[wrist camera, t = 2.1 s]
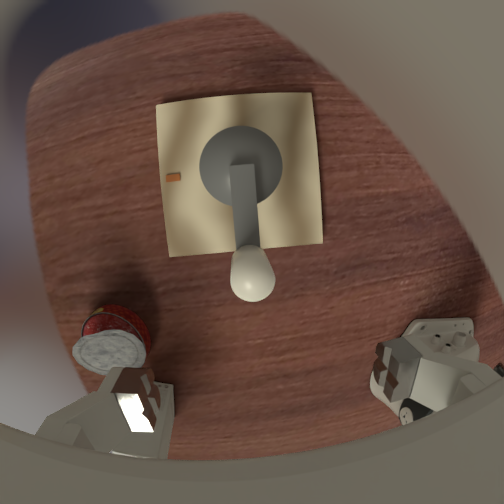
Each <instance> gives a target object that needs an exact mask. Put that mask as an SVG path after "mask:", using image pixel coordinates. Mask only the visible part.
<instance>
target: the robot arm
mask: <svg viewBox="0 0 504 504" xmlns="http://www.w3.org/2000/svg"><path fill="white" fill-rule="evenodd" d="M421 327H422V328H421ZM473 333H474V326H473V321H472V320H471V319H470V318H468V317H466V318H441V319H416V320H414V321H412V322H411V324H410V325H409V326H408V328H407V329H406V331H405V332H404V334H403V335H402V336H401V337H400V338H396V339H392V340H388V341H384V342H380V343H378V344H377V346H376V352H375V353H376V354H377V356H378V358H377V359H376V360H375V362H374V366H373V371H372V374H371V379H370V388H371V391H372V393H373V394H374V396H375V397H377V398H378V399H380V400H381V401H383V402H384V403H385V404H386V405H387V406H388V407H389V408H390V409H391V410H392V411H393V412H394V413H395V414H396V415H397V416H398V417H399V420H400V422H401V424H402V426H399V427H397V428H394V429H391V430H388V431H385V432H381V433H378V434H375V435H371V436H368V437H365V438H361V439H357V440H353V441H350V442H346V443H341V444H337V445H333V446H328V447H323V448H319V449H313V450H308V451H302V452H296V453H290V454H283V455H275V456H267V457H257V458H246V459H230V460H171V459H155V458H144V457H135V456H126V455H119V454H112V453H109V452H110V451H111V450H112V449H113V448H114V447H116V446H117V445H118V444H119V443H120V442H121V441H122V440H123V439H124V438H125V437H126V436H128V435H129V434H130V433H131V431H142V432H153V431H154V428H155V424H156V421H157V418H156V416H155V414H156V413H157V412H159V410H160V406H161V397H160V391H159V388H158V387H157V386H156V385H155V384H154V383H153V382H154V379H155V376H154V373H153V370H152V369H151V368H134V367H112V368H111V369H110V371H109V372H108V374H107V376H106V377H105V379H104V381H103V382H102V384H101V386H100V387H99V389H98V391H97V392H94V391H93V392H92V393H90V394H88V395H86V396H84V397H83V398H81V399H79V400H77V401H75V402H74V403H72V404H70V405H68V406H66V407H64V408H62V409H61V410H59V411H57V412H55V413H53V414H51V415H49V416H47V417H46V419H45V420H44V422H43V423H42V425H41V426H40V428H39V430H38V431H37V433H36V434H35V435H32V434H29V433H26V432H23V431H20V430H18V429H15V428H12V427H10V426H7V425H4V424H2V423H0V504H504V377H503V378H502V377H501V376H500V375H499V374H498V373H496V372H495V371H494V370H493V369H492V368H490V367H489V366H488V365H487V364H483V363H479V362H478V360H479V345H478V343H477V341H476V340H475V339H474V338H473Z"/></svg>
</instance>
